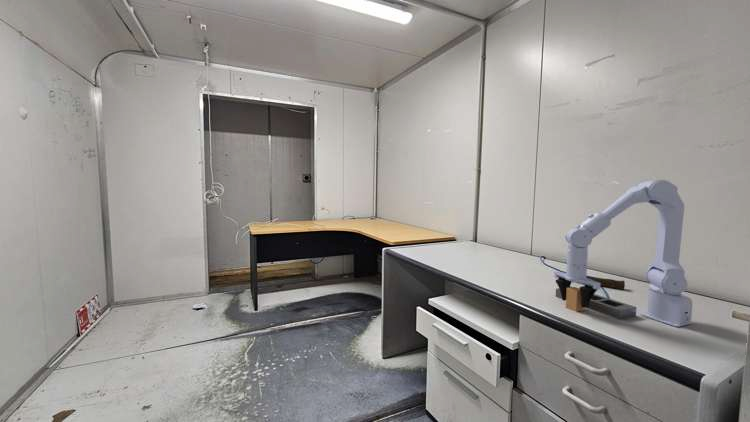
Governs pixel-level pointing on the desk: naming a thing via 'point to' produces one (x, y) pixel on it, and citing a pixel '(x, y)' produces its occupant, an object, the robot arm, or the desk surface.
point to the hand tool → (608, 282)
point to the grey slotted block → (608, 306)
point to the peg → (574, 299)
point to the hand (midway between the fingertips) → (574, 303)
